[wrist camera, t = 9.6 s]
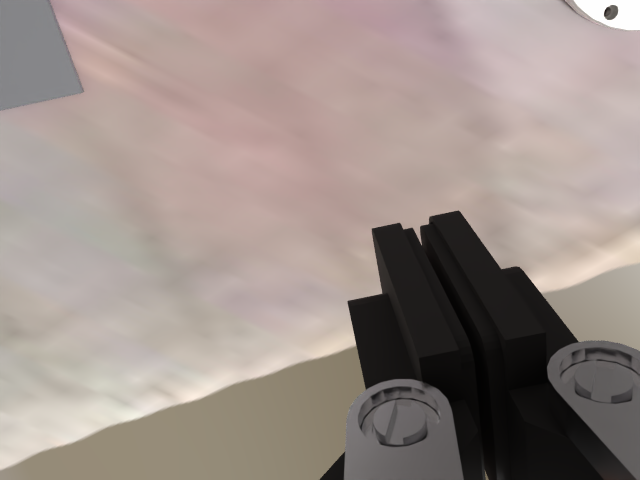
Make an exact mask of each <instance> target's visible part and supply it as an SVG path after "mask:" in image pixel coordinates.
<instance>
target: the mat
mask: <svg viewBox="0 0 640 480" xmlns="http://www.w3.org/2000/svg"><path fill="white" fill-rule="evenodd" d="M83 92H84V90H83V88H82V85H81V82H80V80H79V77H78V74H77V72H76V69H75V67H74V64H73V61H72V59H71V56H70V53H69V51H68V48H67V45H66V43H65V40H64V38H63V35H62V32H61V30H60V27H59V24H58V22H57V19H56V16H55V14H54V11H53V8H52V6H51V3H50V1H49V0H0V111H1V110H5V109H10V108H15V107H19V106H24V105H29V104H33V103H38V102H42V101H47V100H52V99H56V98H61V97H66V96H70V95H75V94H79V93H83Z"/></svg>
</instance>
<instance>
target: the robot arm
mask: <svg viewBox="0 0 640 480" xmlns="http://www.w3.org/2000/svg"><path fill="white" fill-rule="evenodd" d="M565 1H566V2H567V3H568V4H569V5H570V6H571V7H572V8H573V9H574V10H575V11H576V12H577V13H578V14H579V15H581V16H583V17H584V18H586V19H588V20H589V21H591V22H592V23H595V24H598V25H601V26H604V27H607V28H611V29H617V30H622V31H640V0H565ZM606 8H607V12H606V14H605V15H604V11H605V9H606ZM420 233H421V241H422V245H421V243H420V241H419V239H418V237H417V235H416V233H415V231H414V229H413V228H409V229H404V230H403V228H402V226H401V224H400V223H397V224H392V225H387V226H382V227H377V228H373V229H372V235H373V242H374V247H375V253H376V259H377V265H378V270H379V276H380V282H381V288H382V294H379V295H375V296H370V297H365V298H360V299H355V300H350V301H348V306H349V311H350V316H351V321H352V325H353V330H354V335H355V340H356V345H357V349H358V354H359V359H360V364H361V368H362V373H363V378H364V382H365V387H366V390H365V391H364V392H363V393H362V394H360V395H359V396H358V397H357V398H356V399H355V401H354V402H353V404H352V405H351V407H350V409H349V412H348V416H347V425H346V426H347V427H346V447H345V452H344V453H343V454H342V455H341V456H340V458H339V459H338V460H337V461H336V462H335V463H334V464H333V465H332V466H331V468H330V469H329V470H328V471H327V472H326V473H325V474H324V475H323V476H322V478H321V479H320V480H486V479H485V471H486V474H487V476H488V479H489V480H640V351H638V350H637V349H634V348H631V347H629V346H626V345H623V344H620V343H614V342H609V341H584V342H578V340H577V339H576V338H575V337H574V335H573V334H572V333H571V332H570V330H569V329H568V328H567V326H566V325H565V324H564V323H563V321H562V320H561V319H560V317H559V316H558V315H557V313H556V312H555V311H554V310H553V308H552V307H551V306H550V305H549V303H548V302H547V301H546V299H545V298H544V297H543V296H542V294H541V293H540V292H539V290H538V289H537V288H536V287H535V285H534V284H533V283H532V281H531V280H530V279H529V278H528V276H527V275H526V274H525V272H524V271H523V270H522V269H521V268H520V267H511V268H506V269H501V268H500V267H499V265H498V264H497V263H496V261H495V260H494V258H493V257H492V256H491V254H490V253H489V251H488V250H487V249H486V247H485V246H484V244H483V243H482V242H481V240H480V239H479V237H478V236H477V235H476V233H475V232H474V230H473V229H472V228H471V226H470V225H469V223H468V222H467V221H466V219H465V218H464V217H463V215H462V214H461V212H460V211H454V212H449V213H445V214H440V215H435V216H430V218H429V224H428V225H423V226H421V227H420Z"/></svg>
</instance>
